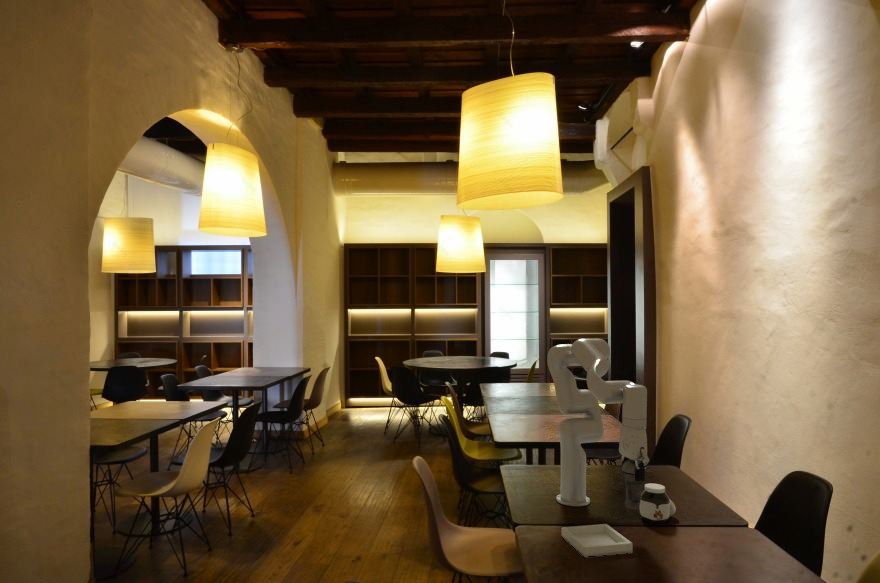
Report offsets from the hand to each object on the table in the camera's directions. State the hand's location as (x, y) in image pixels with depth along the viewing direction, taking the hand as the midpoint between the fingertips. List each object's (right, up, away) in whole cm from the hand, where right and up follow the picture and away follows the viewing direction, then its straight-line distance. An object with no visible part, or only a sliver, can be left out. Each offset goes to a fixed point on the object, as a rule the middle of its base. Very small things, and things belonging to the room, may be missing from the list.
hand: (632, 476), depth 195 cm
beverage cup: (0, -10, 0) cm, 10 cm away
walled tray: (-14, -19, -7) cm, 25 cm away
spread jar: (+14, -20, +17) cm, 30 cm away
